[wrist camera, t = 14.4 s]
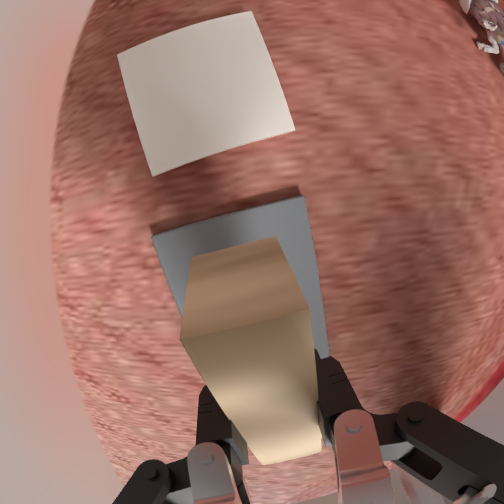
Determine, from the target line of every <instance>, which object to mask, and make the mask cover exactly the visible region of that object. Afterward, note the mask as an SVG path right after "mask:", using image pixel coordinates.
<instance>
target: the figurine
mask: <svg viewBox="0 0 504 504" xmlns="http://www.w3.org/2000/svg"><path fill="white" fill-rule="evenodd" d="M459 2H460V5H461V7H462V10H463V11H464V12H465V13H466V14H467V13H468V11H470V13H471V14H472V16H473V17H474V18H475V20H476V21H477V22H478V23H479V25H480V26H481V27H482V28H483V27H484V28H486V32H487V35H488V36H487V37H488V40H489V41H490V42H491V44H492V46H489V45H485V44H484V43H482V44H481V43H479V42H477V41H476V42H477V47H478V48H479V50H480V49H482V50H483V51H484V52H488V53H496V54H499V46H498V44H499V45H501V46H502V47H503V49H504V23H503V22H504V11H503V10H502V9H501V8H500V7H499V6H498V5H497V3H498V0H459ZM484 28H483V29H484ZM484 30H485V29H484ZM499 68H500V70H501V71H502V72H503V73H504V62H503V63H500V64H499Z"/></svg>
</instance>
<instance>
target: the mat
mask: <svg viewBox="0 0 504 504" xmlns="http://www.w3.org/2000/svg"><path fill="white" fill-rule="evenodd" d="M273 236H276V238H277V240H278V242H279V244H280V246H281V248H282V250H283V253H284V255H285V257H286V259H287V261H288V263H289V265H290V267H291V269H292V272H293V274H294V276H295V278H296V280H297V282H298V284H299V287H300V289H301V291H302V293H303V295H304V297H305V300H306V302H307V304H308V306H309V308H310V316H311V324H312V333H313V343H314V349H315V348H316V349H317V351H318V353H319V356H320V358H321V359H323V358H326V357H329V348H328V340H327V331H326V323H325V315H324V308H323V301H322V294H321V287H320V281H319V274H318V268H317V262H316V256H315V250H314V244H313V239H312V233H311V228H310V222H309V217H308V212H307V207H306V202H305V197H304V196H303V195H299V196H295V197H291V198H287V199H283V200H279V201H274V202H270V203H266V204H262V205H258V206H254V207H251V208H247V209H243V210H239V211H235V212H231V213H228V214H224V215H220V216H217V217H213V218H209V219H206V220H202V221H198V222H195V223H191V224H188V225H184V226H181V227H177V228H174V229H171V230H167V231H164V232H160V233H157V234H154V235H153V236H152V237H151V238H152V240H153V243H154V246H155V249H156V252H157V255H158V257H159V260H160V263H161V266H162V268H163V271H164V274H165V276H166V279H167V282H168V284H169V287H170V289H171V292H172V294H173V297H174V299H175V302H176V304H177V307H178V309H179V311H180V314H181V316H182V317H183V309H184V302H185V295H186V288H187V281H188V274H189V268H190V262H191V257H195V256H199V255H202V254H206V253H210V252H214V251H218V250H222V249H226V248H230V247H234V246H238V245H242V244H246V243H249V242H253V241H257V240H261V239H265V238H269V237H273Z"/></svg>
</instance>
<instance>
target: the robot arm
mask: <svg viewBox="0 0 504 504" xmlns="http://www.w3.org/2000/svg"><path fill="white" fill-rule="evenodd" d="M314 352H315V363H316V374H317V386H318V398H319V400H318V401H317V409H318V422H319V428H320V431H321V434H322V437H323V440H324V444H325V447H328V446H331V445H332V448H333V451H334V454H335V466H336V476H337V488H338V504H396V503H395V498H394V492H393V488H392V482H391V477H390V473H389V470H388V468H387V467H386V466H385V465H384V463H383V461H391V462H392V464H393V466H394V468H395V471H396V473H397V475H398V477H399V479H400V481H401V484H402V486H403V488H404V490H405V492H406V494H407V496H408V499H409V501H410V503H411V504H504V445H502V444H500V443H498V442H496V441H494V440H492V439H490V438H488V437H486V436H484V435H482V434H480V433H478V432H476V431H474V430H473V429H471V428H469V427H467V426H465V425H463V424H461V423H460V422H458V421H456V420H454V419H452V418H450V417H449V416H447V415H445V414H443V413H441V412H440V411H438V410H436V409H434V408H433V407H431V406H429V405H427V404H425V403H423V402H411V403H408V404H406V405H404V406H403V407H402V408H401V409H400V410H399V412H398V413H392V414H384V415H376V414H372V413H369V412H367V411H366V410H365V409H364V408H363V407H362V406H361V404H360V402H359V400H358V398H357V396H356V394H355V392H354V390H353V388H352V386H351V384H350V382H349V380H348V378H347V376H346V374H345V373H344V370H343V368H342V366H341V364H340V362H338V361H337V360H336V359H334V358H333V357H331V356H330V357H326V358H323V359H321V358H320V356H319V353H318V351H317V349H316V348H315V349H314ZM198 405H199V407H198V418H197V434H196V445H195V446H194V447H193V448H192V449H191V450H190V452H189V453H188V456H187V457H185V458H183V459H181V460H178V461H175V462H172V463H169V464H164V463H163V462H162V461H159V460H147V461H145V462H143V463H142V464H140V465H139V467H138V468H137V469H136V471H135V472H134V474H133V475H132V477H131V478H130V479H129V481H128V482H127V484H126V485H125V487H124V488H123V489H122V491H121V492H120V494H119V495H118V497H117V498H116V499H115V501H114V502H113V504H252V501H251V498H250V495H249V492H248V489H247V486H246V483H245V479H244V477H243V474H242V465H246V464H249V460H248V450H247V442H246V441H245V439H244V438H243V437H242V435H241V434H240V432H239V431H238V429H237V428H236V426H235V425H234V424H233V422H232V421H231V420H229V419H228V418H227V416H226V415H225V413H224V412H223V410H222V409H221V407H220V406H219V404H218V403H217V401H216V399H215V398H214V396H213V395H212V393H211V392H210V390H209V388H208V387H207V386H204V387H203V389H202V391H201V393H200V395H199V404H198Z"/></svg>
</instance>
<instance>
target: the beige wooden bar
mask: <svg viewBox="0 0 504 504" xmlns="http://www.w3.org/2000/svg"><path fill="white" fill-rule="evenodd" d="M180 341H181V342H182V344H183V346H184V348H185V350H186V351H187V353H188V355H189V357H190V358H191V360H192V362H193V364H194V365H195V367H196V369H197V370H198V372H199V374H200V375H201V377H202V379H203V380H204V382H205V384H206V385H207V387H208V388H209V390H210V392H211V393H212V395H213V396H214V398H215V399H216V401H217V403H218V404H219V406H220V407H221V409H222V410H223V412H224V413H225V415H226V416H227V418H228V419H229V420H231V421H232V422H233V424H234V425H235V426H236V428H237V429H238V431H239V432H240V434H241V435H242V437H243V438H244V439H245V441H246V442H247V446H248V447H249V448H250V450H251V451H252V452H253V454H254V455H255V456H256V458H257V459H258V460H259V462H260V463H261V464H262V465H267V464H273V463H278V462H283V461H287V460H292V459H296V458H300V457H304V456H308V455H312V454H315V453H319V452H322V450H321V438H323V437H322V434H321V431H320V428H319V422H318V409H317V401H318V400H319V398H318V386H317V374H316V363H315V352H314V343H313V333H312V324H311V316H310V308H309V306H308V304H307V302H306V300H305V297H304V295H303V293H302V291H301V289H300V287H299V284H298V282H297V280H296V278H295V276H294V274H293V272H292V269H291V267H290V265H289V263H288V261H287V259H286V257H285V255H284V253H283V250H282V248H281V246H280V244H279V242H278V240H277V238H276V236H273V237H269V238H265V239H261V240H257V241H253V242H249V243H246V244H242V245H238V246H234V247H230V248H226V249H222V250H218V251H214V252H210V253H206V254H202V255H199V256H195V257H191V262H190V268H189V274H188V281H187V288H186V295H185V302H184V309H183V317H182V324H181V333H180Z"/></svg>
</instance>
